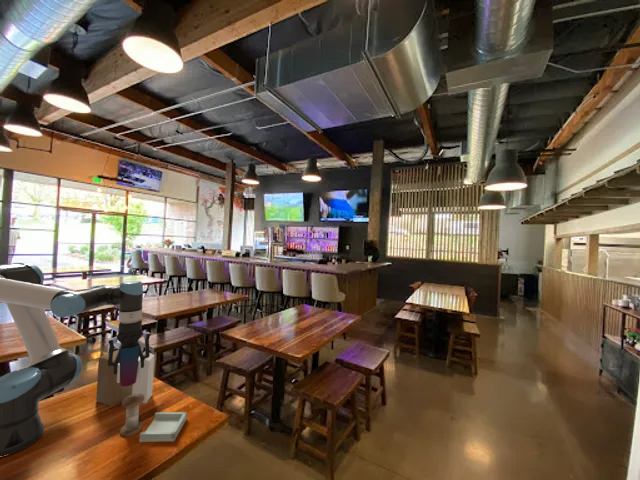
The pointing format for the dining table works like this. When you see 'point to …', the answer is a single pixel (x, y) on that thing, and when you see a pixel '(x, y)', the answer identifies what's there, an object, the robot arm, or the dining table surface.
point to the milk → (145, 379)
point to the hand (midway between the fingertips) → (128, 378)
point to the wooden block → (110, 383)
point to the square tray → (164, 427)
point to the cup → (129, 364)
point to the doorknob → (132, 415)
